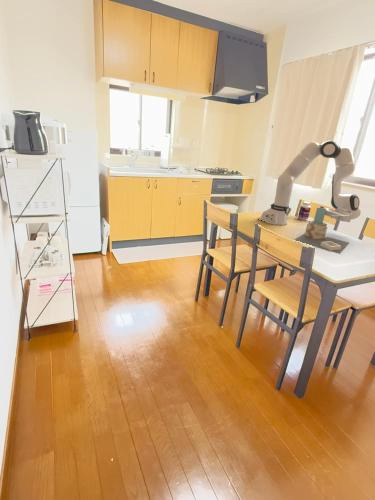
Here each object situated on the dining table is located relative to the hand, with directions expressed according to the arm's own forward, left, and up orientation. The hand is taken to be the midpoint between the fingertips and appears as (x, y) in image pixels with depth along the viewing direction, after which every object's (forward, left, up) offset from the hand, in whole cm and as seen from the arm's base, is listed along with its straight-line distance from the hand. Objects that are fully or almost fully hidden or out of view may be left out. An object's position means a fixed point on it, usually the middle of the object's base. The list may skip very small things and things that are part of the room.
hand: (326, 214), depth 185 cm
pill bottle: (-25, +38, -16) cm, 48 cm away
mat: (+4, -13, -16) cm, 21 cm away
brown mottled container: (-3, -5, -15) cm, 16 cm away
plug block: (-3, -5, -7) cm, 9 cm away
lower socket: (+11, -20, -15) cm, 28 cm away
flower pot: (-40, +33, -16) cm, 54 cm away
